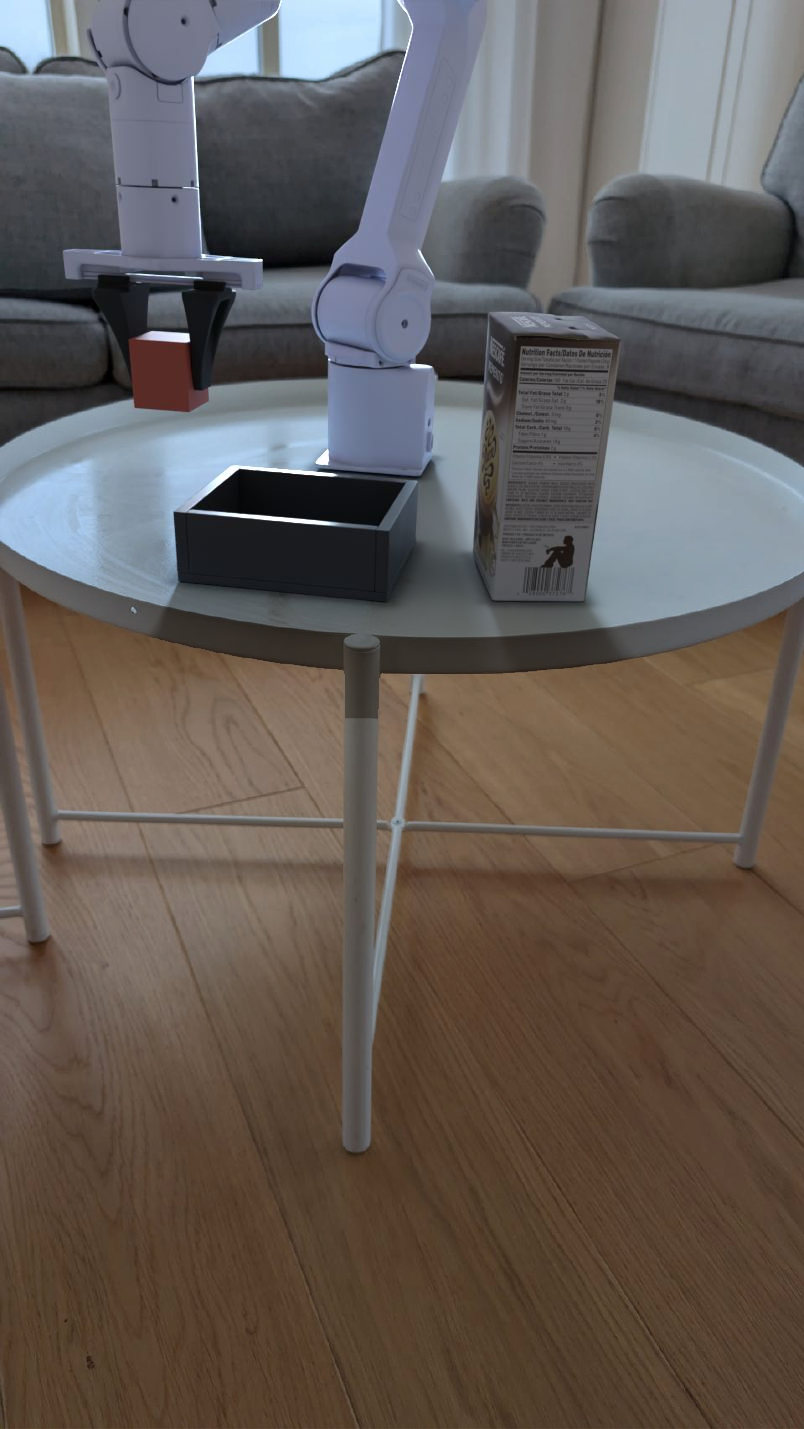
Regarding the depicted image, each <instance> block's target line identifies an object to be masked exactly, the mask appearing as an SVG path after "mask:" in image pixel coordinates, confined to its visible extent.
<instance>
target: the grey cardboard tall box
mask: <svg viewBox="0 0 804 1429" xmlns="http://www.w3.org/2000/svg"><path fill="white" fill-rule="evenodd" d="M486 332H487V334H486V349H485V363H484V379H483V392H482V406H481V407H482V409H481V420H480V421H481V423H480V424H481V425H480V437H479V438H480V440H479V452H478V454H479V455H478V469H477V481H476V496H475V497H476V498H475V506H474V507H475V509H474V510H475V511H474V525H473V539H472V540H473V541H472V555H473V558H474V561H475V562H476V565H477V568H478V569H479V572H480V575H481V577H482V580H483V581H484V584H485V586H486V589H487V592H488V593H489V597H490V598H491V600H492V601H499V602H500V601H501V602H584V601H586V597H587V593H588V592H587V590H588V583H589V575H590V567H591V561H592V554H593V546H594V540H595V532H596V526H597V519H598V512H599V505H600V498H601V490H602V483H603V477H604V470H605V462H606V456H607V448H608V441H609V435H610V429H611V428H610V426H611V421H612V414H613V406H614V405H613V404H614V397H615V391H616V390H615V389H616V384H617V378H618V377H617V376H618V369H619V362H620V353H621V345H622V338H621V337H618V336H617V335H615V334H613V333H611V332H609V331H608V330H607V329H605V328H603V327H601V326H600V325H598V324H597V323H595V322H594V321H591V320H589V319H588V318H586V317H585V316H584V315H555V314H550V313H539V312H527V311H490V312H488V313H487V331H486Z"/></svg>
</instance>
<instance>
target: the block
mask: <svg viewBox="0 0 804 1429" xmlns="http://www.w3.org/2000/svg"><path fill="white" fill-rule="evenodd" d="M129 350H130V362H131V374H132V384H131V387H132V395H133V396H132V397H133V408H134V409H142V410H155V411H165V412H179V413H191V412H192V411H194V410H196V409H197V408H200V407H201V406H203V405H205V404H207V403H209V401H210V396H209V395H210V394H209V388H207V389H205V390H203V391H199V390H194V387H193V381H192V373H191V346H190V338H189V332H188V333H187V332H186V333H185V332H171V331H156V330H151V331H149V332H148V331H147V333H145V334H142V335H139V336H136V337H133V338H130V339H129Z"/></svg>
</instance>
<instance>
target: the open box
mask: <svg viewBox="0 0 804 1429" xmlns="http://www.w3.org/2000/svg"><path fill="white" fill-rule="evenodd" d="M418 501H419V480H413V479H408V480H407V479H402V478H390V477H388V478H386V477H376V476H365V475H355V474H354V475H353V474H343V473H342V474H341V473H331V472H330V473H329V472H317V471H305V470H294V469H280V468H269V467H257V466H244V465H234V464H231V465H230V466H228V467H227V468H226V469H225V470H224V471H222V472H221V473H219V474H218V475H217V476H216V477H215V478H213V480H211V481H210V482H208V483H207V484H206V485H205V486H204V487H202V488H201V489H199V491H197V492H196V493H195V494H194V495H192V496H191V497H190V498H189V499H187V500H186V501H184V502H183V503H182V504H181V505H180V506H179V507H177V508H176V509H174V511H173V512H172V513H173V527H174V540H175V542H174V543H175V556H176V557H175V558H176V570H177V581H178V582H180V583H181V582H182V583H191V584H193V583H194V584H202V585H211V586H222V587H232V588H242V589H250V590H251V589H253V590H261V591H262V590H263V591H273V592H282V593H291V594H303V595H315V596H323V597H332V598H343V599H351V600H352V599H353V600H362V601H363V600H364V601H374V602H385V603H387V602H388V601H389V599H390V596H391V594H392V593H393V590H394V588H395V586H396V584H397V582H398V580H399V578H400V576H401V574H402V572H403V570H404V568H405V566H406V564H407V562H408V560H409V558H410V556H411V554H412V551H413V550H414V548H415V546H416V543H417V525H418V524H417V522H418Z"/></svg>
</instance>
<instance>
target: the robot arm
mask: <svg viewBox="0 0 804 1429" xmlns="http://www.w3.org/2000/svg"><path fill="white" fill-rule="evenodd" d="M396 1H397V2H398V3H399V5H400V7H401V8H402V10H404V11H405V12H406V13H407V16H408V19H409V21H410V23H411V26H412V30H411V35H410V38H409V42H408V45H407V49H406V53H405V56H404V60H403V63H402V68H401V72H400V75H399V79H398V83H397V86H396V90H395V94H394V97H393V101H392V105H391V109H390V111H389V116H388V118H387V123H386V126H385V130H384V134H383V138H382V141H381V145H380V148H379V152H378V156H377V160H376V164H375V167H374V171H373V174H372V178H371V181H370V185H369V189H368V193H367V197H366V201H365V204H364V207H363V211H362V215H361V219H360V222H359V226H358V229H357V231H356V233H354V234H353V236H352V237H350V238H349V239H348V240H346V242H345V243H344V244H342V246H341V247H340V248H338V250H336V252H335V253H334V255H333V259H332V263H331V266H330V269H329V270H328V273H327V274H326V276H325V277H324V279H323V280H322V281H321V282H320V284H319V285H318V286H317V288H316V290H315V291H314V295H313V297H312V301H311V308H310V309H311V310H310V312H311V313H310V314H311V316H310V317H311V321H312V325H313V329H314V331H315V333H316V335H317V336H318V338H319V339H320V340H321V341H322V342H323V343H324V355H325V356H327V359H328V360H327V450H325V452H324V453H323V454H322V455H321V456H320V457H319V458H318V459H317V460H316V461H315V462H314V467H315V468H317V469H323V470H324V469H325V470H336V471H348V472H360V473H371V474H385V475H386V474H387V475H395V476H396V475H397V476H407V477H409V476H410V477H421V475H422V474H423V473H424V471H425V470H426V468H427V466H428V464H429V462H430V460H431V459H432V457H433V453H434V452H433V447H434V419H435V418H434V416H435V401H436V400H435V398H436V373H435V369H434V367H433V366H431V365H427V364H417V363H416V359H417V358H416V357H417V355H419V353H420V352H421V351H422V350H423V348H424V347H425V345H426V343H427V340H428V338H429V335H430V332H431V326H432V310H431V308H432V307H431V303H432V302H431V301H432V295H433V290H434V287H435V284H436V278H435V275H434V274H433V272H432V270H431V268H430V266H429V265H428V263H427V262H426V260H425V258H424V256H423V254H422V249H423V245H424V241H425V238H426V234H427V231H428V228H429V225H430V221H431V218H432V215H433V212H434V207H435V204H436V201H437V196H438V193H439V191H440V190H439V189H440V186H441V183H442V179H443V175H444V173H445V168H446V167H447V166H446V165H447V162H448V158H449V156H450V152H451V148H452V146H453V142H454V138H455V134H456V131H457V127H458V124H459V120H460V116H461V113H462V110H463V107H464V103H465V99H466V97H467V92H468V89H469V85H470V83H471V80H472V79H471V78H472V76H473V72H474V68H475V65H476V61H477V59H478V58H477V57H478V54H479V51H480V47H481V45H482V41H483V38H484V34H485V30H486V25H487V18H488V0H396ZM97 2H98V3H97V5H94V7H93V12H92V16H91V26H90V28H87V29H86V39H87V43H88V46H89V49H90V52H91V54H92V57H93V58H94V60H95V62H96V64H97V65H98V66H99V68H100V69H101V70H102V72H103V74H104V75H105V78H106V82H107V91H108V92H107V93H108V103H109V121H110V132H111V143H112V145H111V146H112V156H113V167H114V179H115V189H116V201H117V202H116V203H117V214H118V224H119V225H118V226H119V238H120V239H119V240H120V250H119V249H118V250H117V249H115V250H114V249H113V250H112V249H83V248H72V249H65V250H62V258H63V267H64V277H65V279H67V280H82V279H84V280H97V284H96V287H93V288H92V289H91V294H92V295H91V296H92V299H93V301H94V303H95V304H96V305H97V307H98V309H99V310H100V311H101V313H102V314H103V317H104V319H105V320H106V321H107V324H108V326H109V328H110V329H111V331H112V333H113V335H114V338H115V340H116V343H117V345H118V347H119V349H120V353H121V355H122V357H123V360H124V363H125V366H126V369H127V373H128V376H129V380H130V384H131V385H132V374H131V362H130V350H129V339H130V338H133V337H136V336H139V335H142V334H145V333H148V316H149V315H148V314H149V313H148V312H149V298H150V289H151V284H164V285H165V284H167V285H181V286H193V288H190V289H186V290H182V291H181V300H182V305H183V308H184V312H185V318H186V319H185V320H186V324H187V330H188V334H189V338H190V346H191V373H192V381H193V387H194V390H199V391H203V390H205V389H207V388H208V389H209V388H210V387H211V386H212V379H213V378H212V377H213V370H214V364H215V360H216V354H217V350H218V346H219V342H220V339H221V335H222V333H223V330H224V328H225V324H226V321H227V319H228V317H229V314H230V312H231V309H232V308H233V305H234V303H235V302H236V297H237V290H236V289H241V290H243V291H257V290H261V289H263V288H264V272H263V271H264V270H263V266H264V265H263V259H261V258H260V259H258V258H247V257H246V258H245V257H236V256H235V257H233V256H225V255H224V256H223V255H214V254H213V255H212V254H203V246H202V245H203V244H202V227H201V208H200V206H201V205H200V189H199V187H200V186H199V167H198V146H197V125H196V124H197V123H196V110H195V106H196V105H195V88H194V86H195V85H194V77H197V76H198V75H199V74H200V73H201V71H202V69H203V68H204V66H205V64H206V62H207V59H208V57H209V56H210V55H212V54H214V53H215V52H217V51H219V50H220V49H222V48H224V47H225V46H227V45H229V44H231V43H232V42H234V41H236V40H237V39H238V38H240V37H242V36H244V35H246V34H247V33H249V32H250V31H251V30H254V29H255V28H257V27H258V26H260V25H262V24H264V23H265V22H267V21H269V20H270V19H272V18H273V17H274V16H276V14H277V13H278V12H279V11H278V10H279V9H280V6H281V3H282V0H97ZM143 271H152V272H184V276H178V275H163V274H162V275H161V274H145V273H136V272H143Z"/></svg>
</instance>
